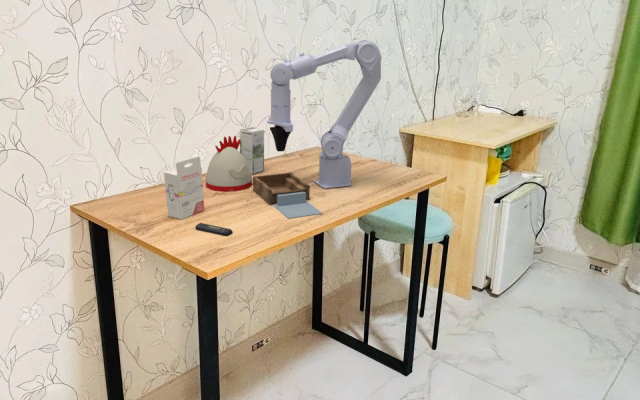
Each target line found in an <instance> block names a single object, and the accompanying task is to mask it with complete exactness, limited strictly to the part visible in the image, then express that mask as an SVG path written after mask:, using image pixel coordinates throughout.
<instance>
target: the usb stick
mask: <svg viewBox="0 0 640 400" xmlns="http://www.w3.org/2000/svg"><path fill="white" fill-rule="evenodd" d="M196 230H197V231H201V232H205V233H211V234H215V235H220V236H224V237H229V236H231V235H233V229H232V228H227V227H223V226H218V225H214V224H213V225H212V224H207V223H204V222H199V223H197V224H196V225H195V231H196Z"/></svg>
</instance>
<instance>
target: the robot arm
mask: <svg viewBox="0 0 640 400" xmlns="http://www.w3.org/2000/svg"><path fill="white" fill-rule="evenodd" d="M340 60H341V61H342V60H350V61H357V63H358V65H359V66H360V70H361V74H362V77H361V79H360V81H359V83H358V84H357V86H356V87H355V89H354V91H353V93H352V95H351V97H349V100H348V101H347V103H346V105H345V106H344V108H343V110H342V111H341V113H340V114H339V116H338V118H337V119H336V121H335V123H334V124H333V125H332V126H331V127H330V128H329V131H327V132H325V133H324V134H323V135H322V136H321V139H320V144H321V152H320V153H319V155H318V156H319V158H318V159H319V163H318V164H319V165H318V179H315V180H313V182H314V183H315V184H317V185H318V186H320V187H321V188H322V189H326V190H327V189H334V188H343V187H350V186H352V184H353V183H351V181H352V161H351V158H350V156H349V155H347V154H344V153H343V151H344V144H345V142H346V141H347V138H348V136H349V133H350V131H351V129H352V128H353V125H354V124H355V122H356V121H357V119H358V118H359V116H360V114H361V113H362V111H363V109H364V108H365V106H366V104H367V103H368V101H369V100H370V99H371V97H372V95H373V93H374V92H375V90H376V89H377V87H378V85H379V83H380V82H381V78H382V54H381V51H380V49H379V47H378V45H377V44H376V42H373V41H369V40H366V39H364V40H360V41H358V42H357V41H355V42H350V43H345V44H343V45H340V46H337V47H335V48H331V49H329V50H327V51H325V52H324V51H323V52H322V53H319V54H316V55H312V54H310V53H305V52H301V53H299V56H296V57H294V58H291V59H287V58H285V59H284V60H283V62H277V63H275V65H273V66H272V67H271V70H270V74H269V75H270V79H271V80H272V81H271V83H270V86H271V88H270V116H269V117H268V120H267V121H266V122H267V124H269V125H274V126H271V127H270V126H269V130H270V132H271V135H272V136H273V140H274V144H275V150H276V151H277V152H278V153H279V152H285V151H286V147H287V142H288V140H289V137H290V135H291V133H292V132H293V131H294V124H293V123H292V120H291V97H292V96H291V88H290V86H291V85H290V84H291V83H290V80H298V79H301V78H303V77H307V76H310V75H312V74H315V73H316V71H317V68H318V67H321V66H325V65H328V64H332V63H334V62H337V61H340Z"/></svg>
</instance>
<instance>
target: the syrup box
mask: <svg viewBox="0 0 640 400" xmlns="http://www.w3.org/2000/svg"><path fill="white" fill-rule="evenodd" d="M239 139H240V140H241V141H240V144H239V152H240V153H241V154H242V155H243V156H244V158H245V159H246V161H247V163H248V166H249V169H250V172H251V176H254V175H256V174H259V173H260V174H261V173H262V172H265V129H264V128H261V127H258V126H250V127H244V128H239Z"/></svg>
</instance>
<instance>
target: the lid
mask: <svg viewBox="0 0 640 400" xmlns="http://www.w3.org/2000/svg"><path fill="white" fill-rule="evenodd" d="M273 206H274V208H276V209H277V210H278V211H279V212H280V213H281V214H282V215H283V216H284V217H285V218H286V219H288V220H290V219H297V218H304V217H312V216H318V215H319V216H320V215H323V212H322V211H320V210H319V209H318V208H317V207H315V206H314V205H313V204H312V203H310V202H309V201H308V200H306V193H305V192H298V193H290V194H281V195H277V204H273Z"/></svg>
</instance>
